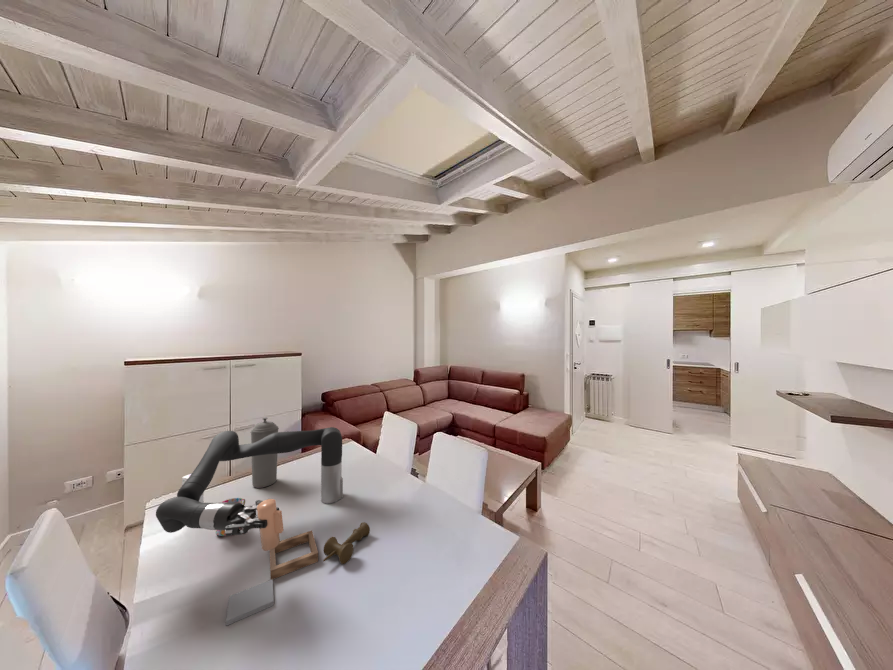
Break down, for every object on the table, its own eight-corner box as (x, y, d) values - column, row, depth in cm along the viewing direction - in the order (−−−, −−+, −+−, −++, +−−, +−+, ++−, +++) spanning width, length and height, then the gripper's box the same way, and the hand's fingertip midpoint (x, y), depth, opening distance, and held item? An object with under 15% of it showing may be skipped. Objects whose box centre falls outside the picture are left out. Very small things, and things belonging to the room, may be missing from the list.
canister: (272, 475, 162) (272, 413, 162) (282, 481, 154) (283, 416, 155) (246, 484, 152) (246, 418, 152) (256, 492, 144) (256, 422, 144)
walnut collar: (312, 537, 111) (312, 530, 111) (318, 561, 99) (318, 552, 99) (269, 552, 103) (269, 544, 103) (270, 580, 91) (270, 570, 91)
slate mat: (272, 582, 90) (272, 579, 90) (273, 605, 83) (273, 600, 83) (229, 600, 84) (229, 596, 84) (225, 625, 77) (225, 621, 77)
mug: (229, 539, 110) (229, 511, 110) (207, 537, 111) (208, 509, 111) (254, 520, 122) (254, 495, 122) (234, 518, 123) (235, 493, 123)
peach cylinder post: (258, 550, 90) (253, 510, 88) (268, 537, 95) (264, 498, 93) (278, 551, 89) (274, 510, 88) (288, 537, 94) (284, 499, 93)
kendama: (375, 539, 111) (332, 575, 93) (357, 532, 115) (313, 565, 98) (375, 523, 111) (333, 556, 93) (357, 516, 116) (313, 547, 98)
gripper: (240, 512, 99) (287, 514, 98) (202, 544, 85) (256, 546, 84) (239, 491, 99) (286, 492, 98) (201, 519, 85) (256, 521, 83)
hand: (272, 517), depth 91 cm, fingers closed on peach cylinder post, 5 cm apart
